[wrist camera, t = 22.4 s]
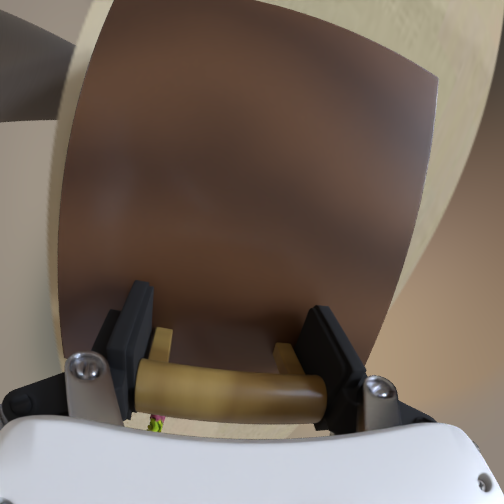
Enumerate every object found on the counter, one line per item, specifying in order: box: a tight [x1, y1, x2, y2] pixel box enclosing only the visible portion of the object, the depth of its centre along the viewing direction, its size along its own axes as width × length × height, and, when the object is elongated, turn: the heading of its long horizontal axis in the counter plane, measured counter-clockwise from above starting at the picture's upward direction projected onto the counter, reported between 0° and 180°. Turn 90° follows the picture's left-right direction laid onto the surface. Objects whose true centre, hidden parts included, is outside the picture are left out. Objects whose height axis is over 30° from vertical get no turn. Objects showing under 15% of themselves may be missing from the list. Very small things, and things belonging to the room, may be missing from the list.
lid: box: [58, 0, 439, 424], centre depth 9 cm, size 16×15×5 cm
